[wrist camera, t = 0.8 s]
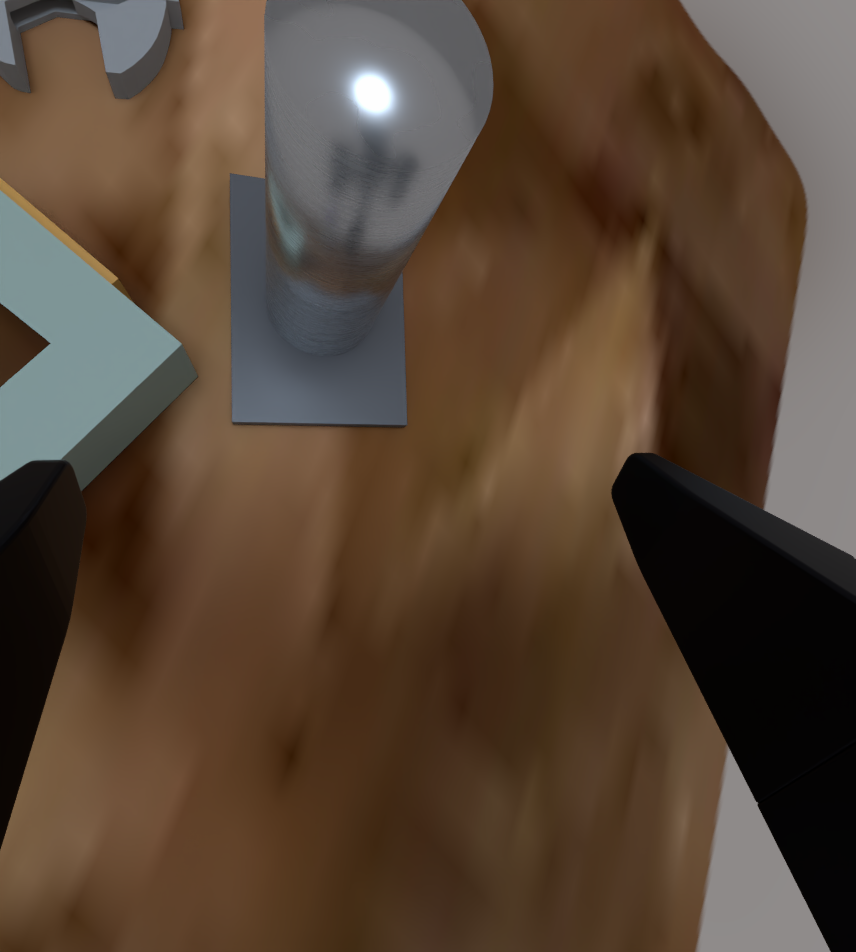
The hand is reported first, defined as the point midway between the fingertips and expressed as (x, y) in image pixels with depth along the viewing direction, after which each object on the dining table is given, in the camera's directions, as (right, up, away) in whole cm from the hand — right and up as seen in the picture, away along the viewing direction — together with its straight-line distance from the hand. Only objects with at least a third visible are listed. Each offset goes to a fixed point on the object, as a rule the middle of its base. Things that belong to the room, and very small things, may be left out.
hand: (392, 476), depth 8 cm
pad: (-4, +7, +13) cm, 16 cm away
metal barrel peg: (-4, +7, +13) cm, 15 cm away
